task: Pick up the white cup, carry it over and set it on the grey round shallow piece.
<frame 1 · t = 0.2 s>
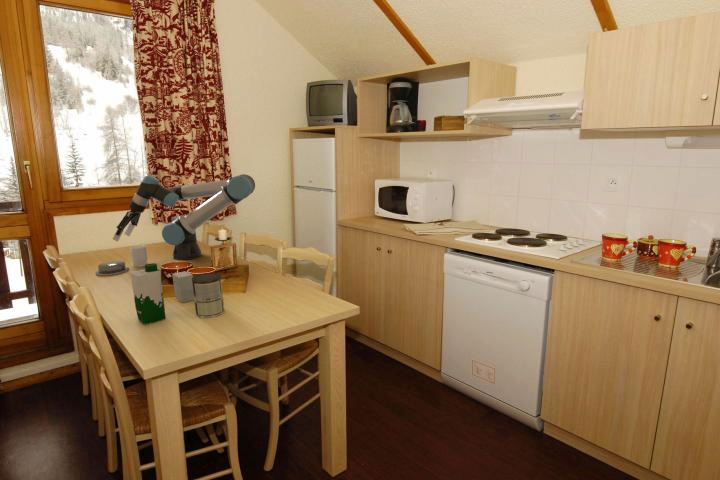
hand: (121, 237, 238), 15 cm above the table, tool tilted 35°, fingers open, 13 cm apart
milk carton: (151, 320, 164), on the table
small box: (185, 299, 184), on the table
grey round shallow piece: (112, 271, 229), on the table
white cup: (140, 265, 240), on the table
coffee can: (210, 313, 168), on the table
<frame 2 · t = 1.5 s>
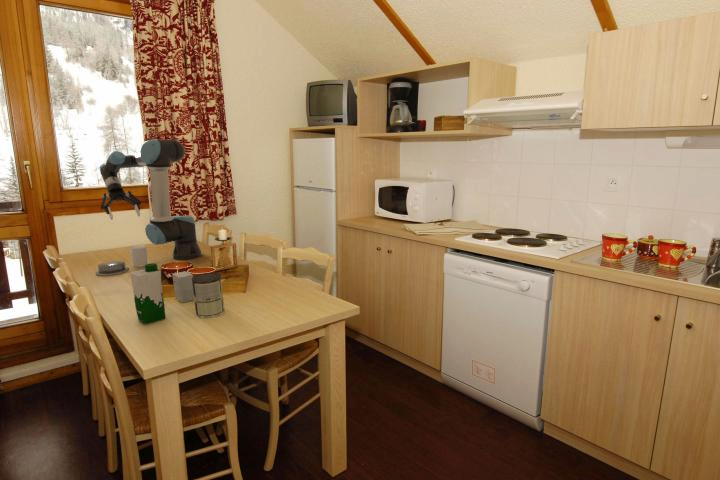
hand: (125, 216, 244), 25 cm above the table, tool tilted 45°, fingers open, 13 cm apart
nothing on the table moved.
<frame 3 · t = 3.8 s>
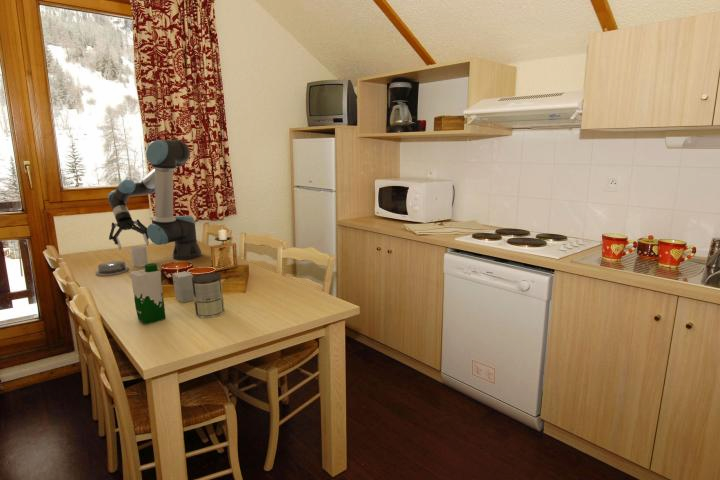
hand: (134, 246, 240), 10 cm above the table, tool tilted 45°, fingers open, 13 cm apart
nothing on the table moved.
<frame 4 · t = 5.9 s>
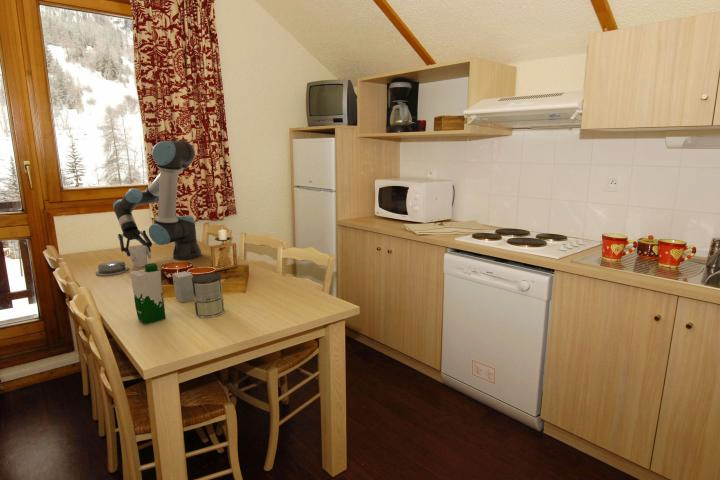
hand: (141, 258, 236), 4 cm above the table, tool tilted 45°, fingers closed on white cup, 8 cm apart
white cup: (140, 265, 240), on the table, touching gripper
everything else where it was.
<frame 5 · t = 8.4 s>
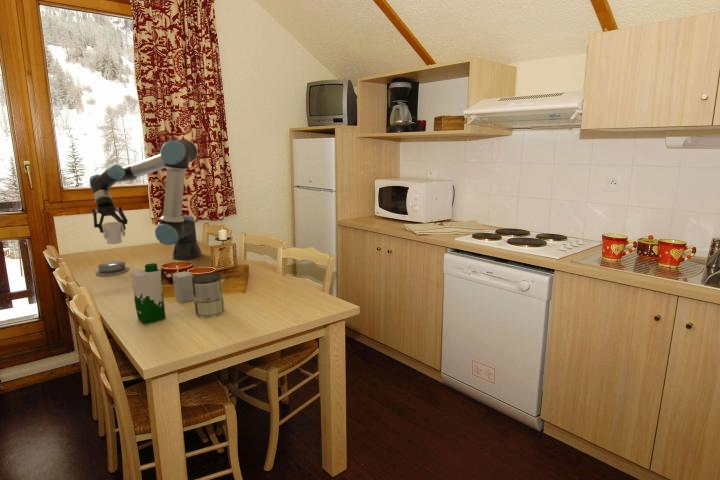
hand: (115, 235, 227), 18 cm above the table, tool tilted 45°, fingers closed on white cup, 8 cm apart
white cup: (114, 243, 230), point 14 cm above the table, touching gripper
everything else where it was.
when the fingers open (10 cm above the table, at t = 11.0 s): white cup drops 1 cm, resting on grey round shallow piece.
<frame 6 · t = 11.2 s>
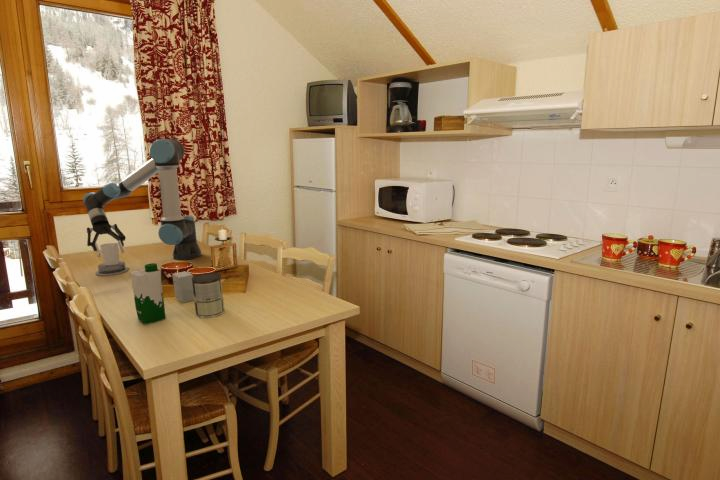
hand: (111, 253, 225), 10 cm above the table, tool tilted 45°, fingers open, 10 cm apart
white cup: (112, 264, 229), point 4 cm above the table, touching grey round shallow piece
everything else where it was.
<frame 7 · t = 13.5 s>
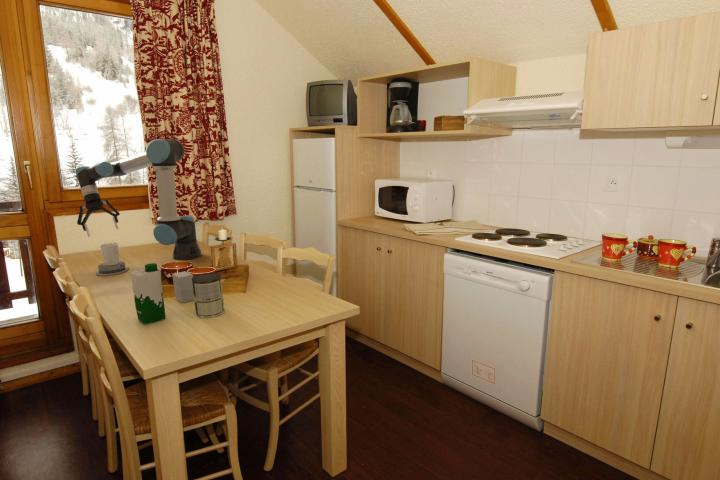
hand: (103, 232, 239), 18 cm above the table, tool tilted 25°, fingers open, 13 cm apart
nothing on the table moved.
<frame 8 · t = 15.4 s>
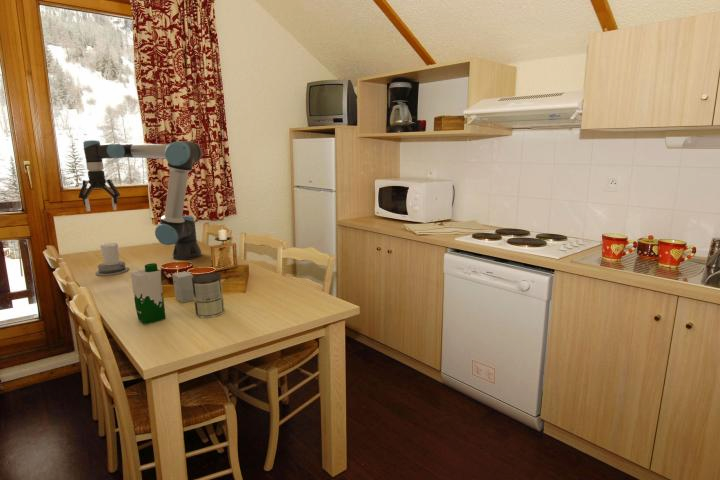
hand: (101, 210, 242), 29 cm above the table, tool pointing down, fingers open, 13 cm apart
nothing on the table moved.
at the end: white cup 0.3 cm from the grey round shallow piece (horizontally); white cup touching grey round shallow piece; white cup tilted 0° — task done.
